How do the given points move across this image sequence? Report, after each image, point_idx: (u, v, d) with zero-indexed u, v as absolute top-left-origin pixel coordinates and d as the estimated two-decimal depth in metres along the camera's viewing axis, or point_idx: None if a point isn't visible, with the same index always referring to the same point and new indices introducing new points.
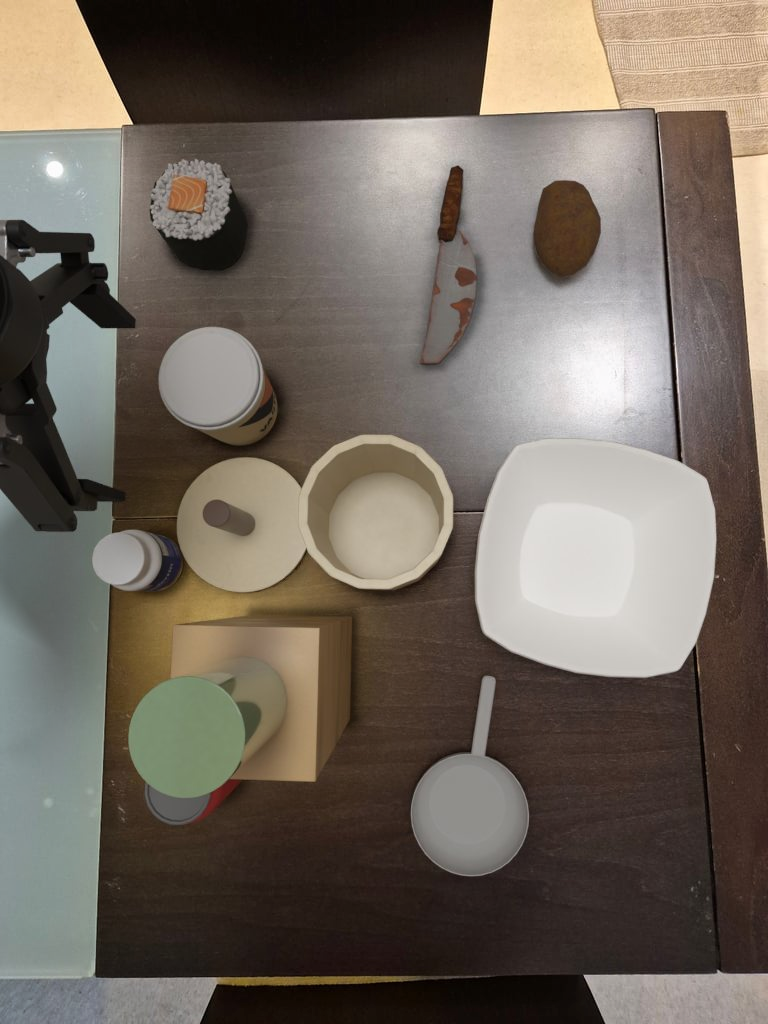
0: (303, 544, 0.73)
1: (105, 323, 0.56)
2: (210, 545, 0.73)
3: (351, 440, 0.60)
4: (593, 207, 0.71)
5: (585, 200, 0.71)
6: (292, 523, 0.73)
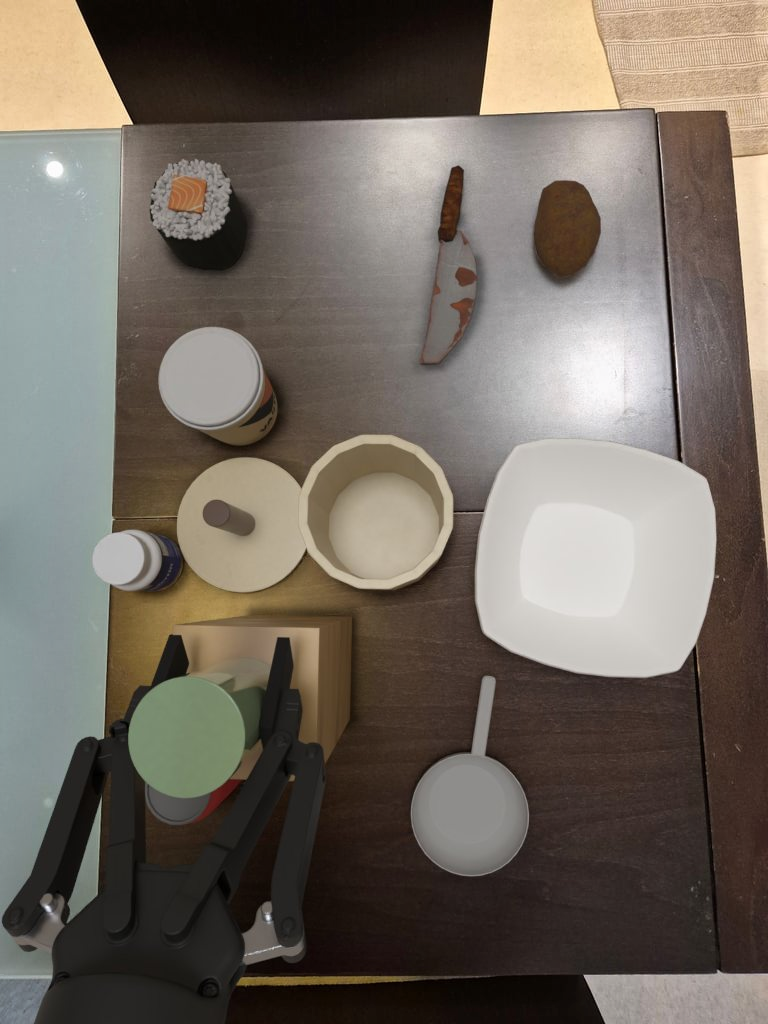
0: (303, 544, 0.73)
1: None
2: (210, 545, 0.73)
3: (351, 440, 0.60)
4: (593, 207, 0.71)
5: (585, 201, 0.71)
6: (292, 523, 0.73)
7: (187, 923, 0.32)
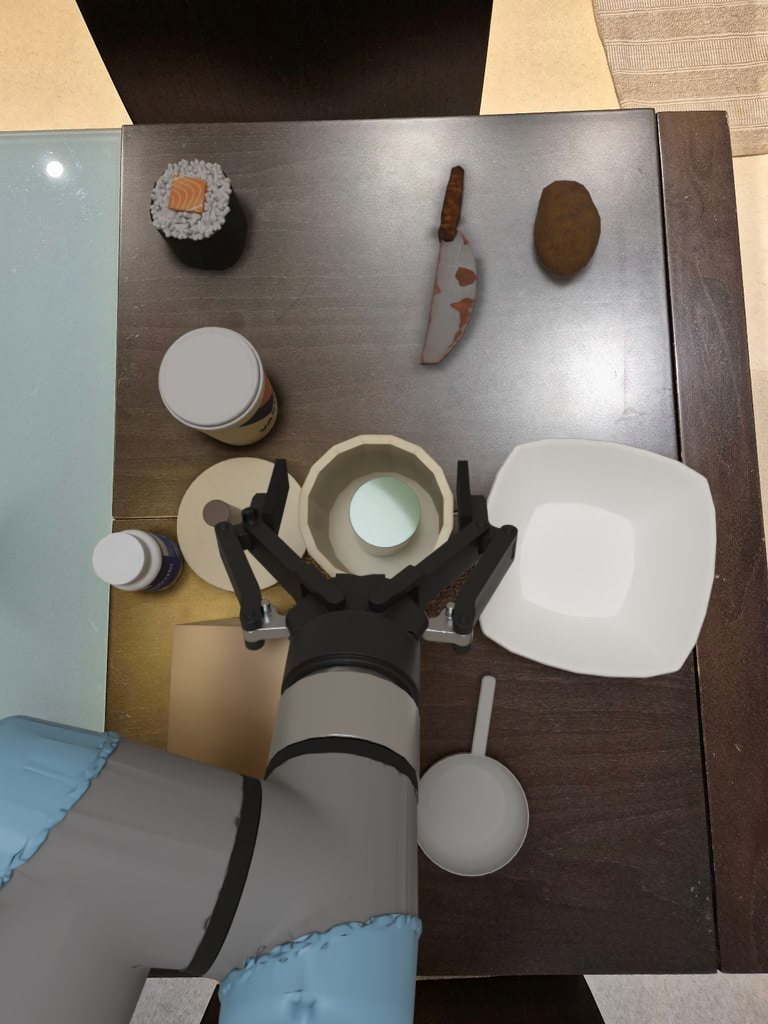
0: (303, 544, 0.73)
1: (457, 477, 0.54)
2: (210, 545, 0.73)
3: (351, 440, 0.60)
4: (593, 207, 0.71)
5: (585, 200, 0.71)
6: (292, 523, 0.73)
7: (386, 600, 0.43)
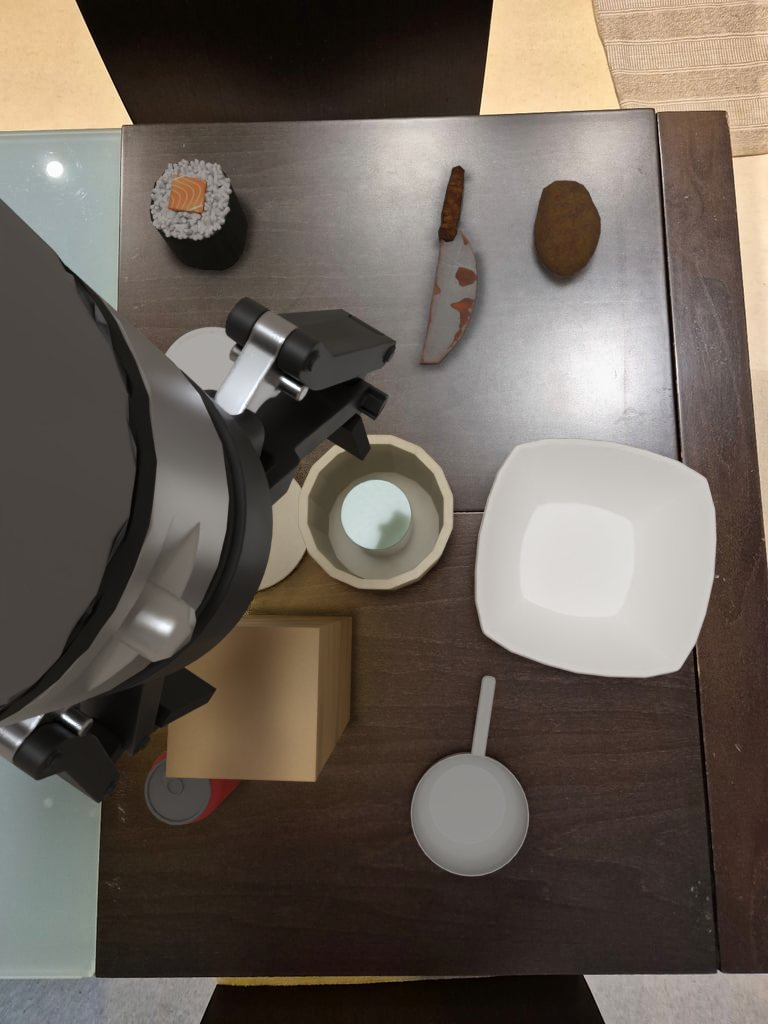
0: (303, 544, 0.73)
1: None
2: None
3: None
4: (593, 207, 0.71)
5: (585, 201, 0.71)
6: (292, 523, 0.73)
7: None
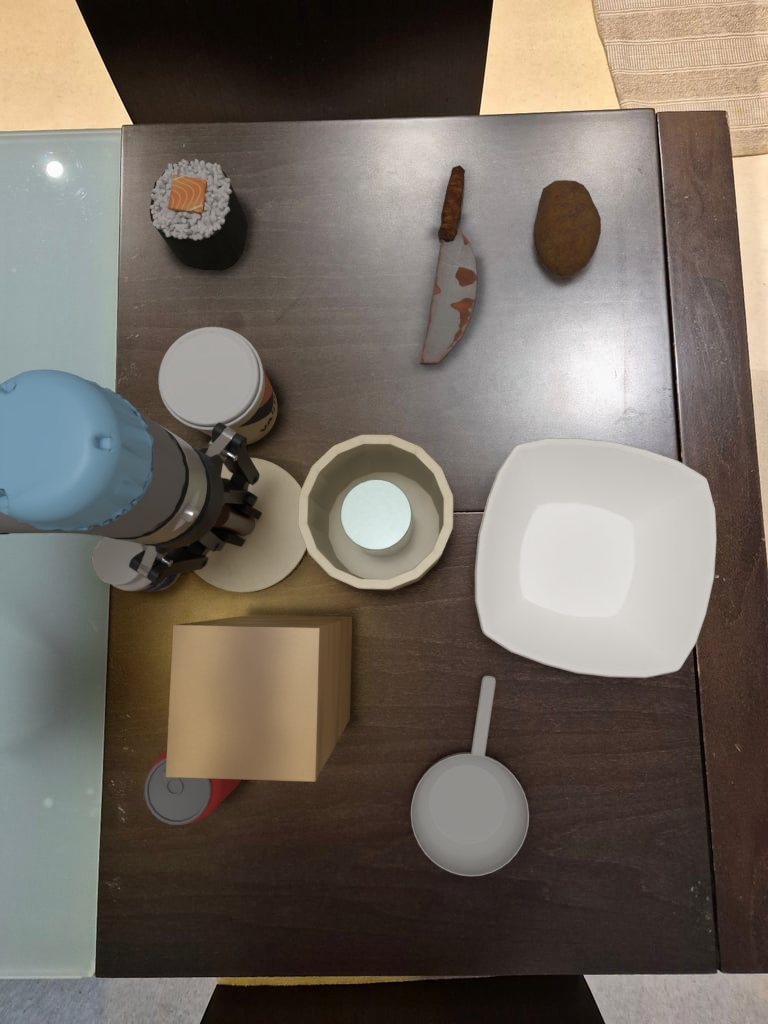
0: (303, 544, 0.73)
1: None
2: None
3: (351, 440, 0.60)
4: (593, 207, 0.71)
5: (585, 200, 0.71)
6: (292, 523, 0.73)
7: None
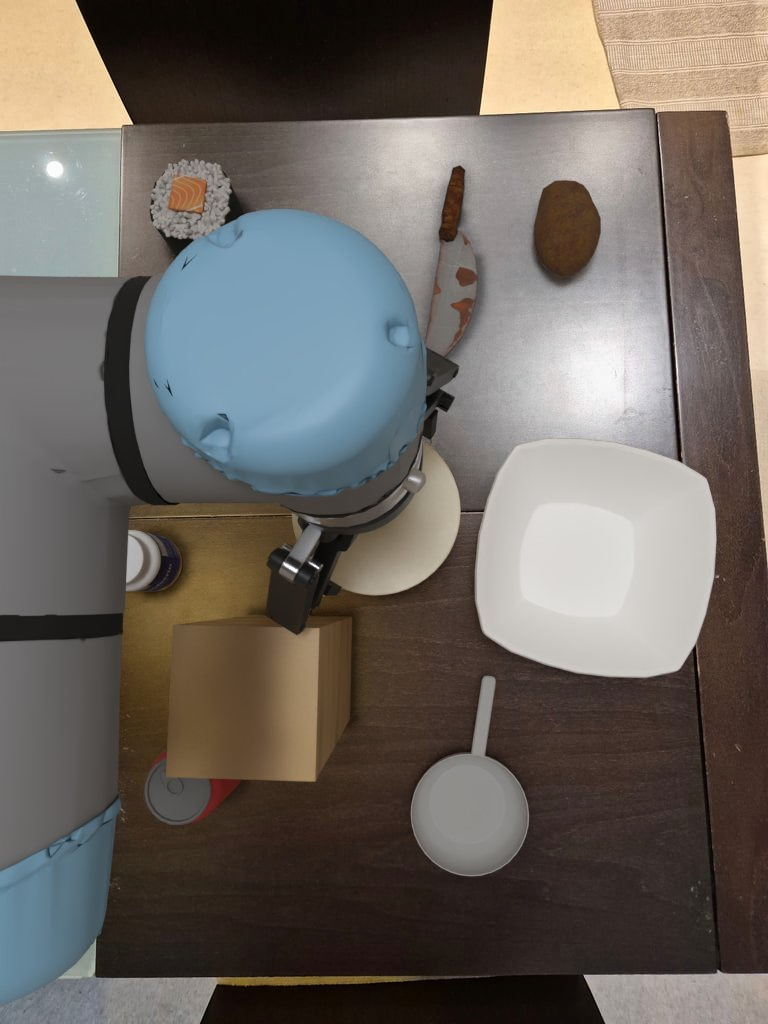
0: (451, 535, 0.58)
1: None
2: None
3: None
4: (593, 207, 0.71)
5: (585, 201, 0.71)
6: (437, 509, 0.59)
7: None
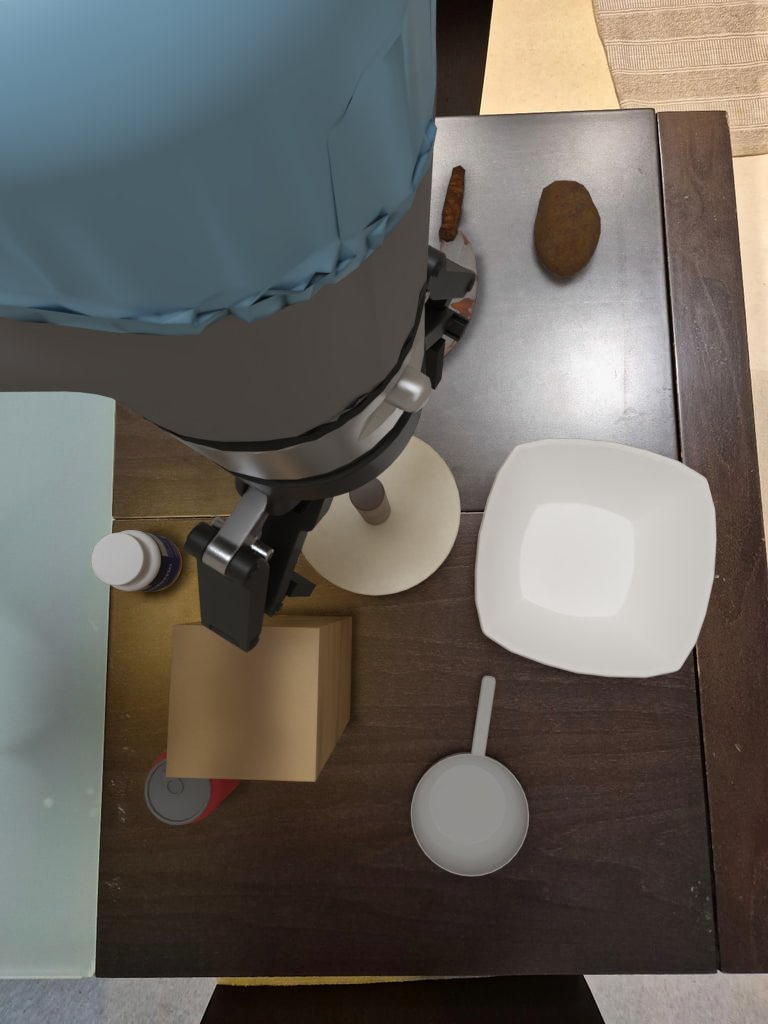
0: (451, 535, 0.58)
1: None
2: (334, 536, 0.59)
3: None
4: (593, 207, 0.71)
5: (585, 201, 0.71)
6: (437, 509, 0.59)
7: None
